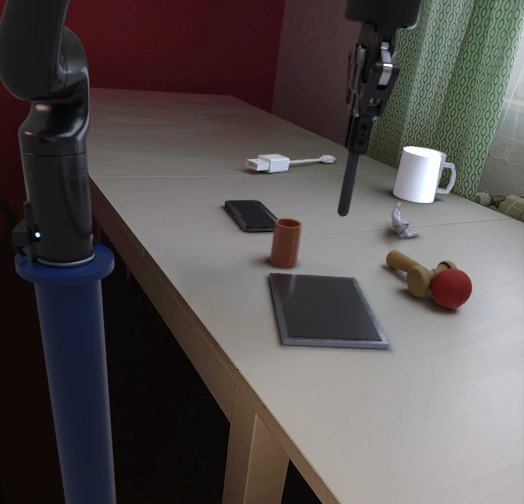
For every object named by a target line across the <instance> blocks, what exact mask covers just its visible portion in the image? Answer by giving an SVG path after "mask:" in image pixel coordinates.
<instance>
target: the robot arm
mask: <svg viewBox="0 0 524 504" xmlns="http://www.w3.org/2000/svg"><path fill="white" fill-rule="evenodd" d="M71 2H72V0H5V4H4V7H3V11H2V14H1V18H0V81H1V82H2V85H3V87H4V88H5V89H6V90H7V91H8V92H9V93H10V94H11V95H12V96H14V97H15V98H16V99H18V100H20V101H21V100H22V101H25V102H31V106H30V110H29V112H28V115H27V117H26V119H25V120H24V121H23V122H22V123H21V125H20V126H19V127H18V131H17V132H18V133H17V134H18V135H17V136H18V144H19V151H20V159H21V164H22V171H23V178H24V185H25V193H26V200H25V202H24V203H23V212H24V219H21V220H20V221H19V223H18V224H17V225H16V226H15V227H14V228H13V230H12V231H11V235H12V237H11V240H10V241H11V242H10V243H11V247H12V248H13V250H14V252H16V254H17V253H18V254H19V255H20V256H21V257H22V258H24V257H25V256H27V254H26V253H25V252H24V251H23V250H22V249H23V248H25V247H29V248H30V255H31V262H32V263H39V264H41V265H44V266H47V267H52V268H74V267H79V266H83V265H86V264H88V263H90V262H92V261H93V260H94V258H95V250H94V245H95V247H96V248H97V246H96V243H97V239H96V237H95V236H94V229H93V216H92V215H93V213H92V202H91V188H90V177H89V165H88V163H89V161H88V150H87V139H88V134H89V131H90V127H91V94H90V93H91V91H90V90H91V89H90V74H89V73H90V70H89V63H88V57H87V55H86V51H85V49H84V46H83V43H81V40H80V38H79V37H78V35H76V33H75V32H73V31H72V30H71V29H70V28H69V27H67V26H66V20H67V14H68V11H69V8H70V4H71ZM422 6H423V0H345V6H344V13H343V16H344V18H345V20H346V21H348V22H354V23H360V24H361V28H360V31H359V34H358V38H357V42H353V44H352V47H351V50H350V51H349V53H348V56H347V74H346V76H347V77H346V93H345V104H346V105H347V113H348V119H347V124H346V129H345V135H344V141H343V147H344V148H345V149H346V150H347V152H348V154H349V153H351V154H358V155H360V156H364V155H366V154H367V153H368V151H369V150H368V149H369V145H370V141H371V135H372V129H373V125H374V121H376V120H377V119H378V118H382V116H383V115H384V112H385V109H386V106H387V105H388V102H389V99H390V97H391V95H392V92H393V90H394V87H395V85H396V83H397V80H398V77H399V75H400V72H401V65H400V64H398V63H397V64H396V61H397V57H398V49H397V48H396V47H397V38H398V30H399V29H405V30H406V29H407V30H412V29H415V27H417V25H418V22H419V18H420V14H421V9H422ZM21 247H23V248H21Z"/></svg>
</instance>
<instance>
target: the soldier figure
mask: <svg viewBox="0 0 524 504" xmlns="http://www.w3.org/2000/svg"><path fill="white" fill-rule="evenodd" d="M401 204H402V203H401V202H397V203H395V206H394V207H393V209H392V212H391V215H390V217H391V220H392V221H391V223H390V226H391V228H392V229H393V231H394V232H395V233H398V236H399V237H400V236H402V237H404V238H405V239H409V238H413V237H417V236H419V235H420V231H418V230H417V231H415V232H412V233H409V231H408V227H409V226H410V222H408V218H407V217H403V218H401V210H402V208H400V207H401V206H400V205H401Z"/></svg>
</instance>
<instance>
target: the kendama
mask: <svg viewBox="0 0 524 504" xmlns="http://www.w3.org/2000/svg"><path fill="white" fill-rule="evenodd" d="M385 264H386V265H387V266H388V267H390V268H393V269H396V270H399V271H402V272H404V273H406V277H405V279H406V280H405V281H406V285H407V288H408V290H409V292H410V293H411V295H413V296H414V297H416V298H421V297H424V296H427V295H428V294H429V292H430V295H431V297H432V299H433V300H434V302H435V303H436V304H437V305H439V306H441V307H443V308H447V309H458V308H460V307H462V306H463V305H464V304H466V302H468V300H469V299H470V297H471V295H472V293H473V282H472V280H471V278H470V276H469V275H468V274H467V273H466V272H464V271H463V270H461V269H459V268H458V267H457V266H456V264H455V263H454V262H453V261H451V260H442V261H440V262H439V263H438V264H437V266H436V268H432V269H430V270H429V269H428V268H427V267H425V266H424V265H422V264H421V263H419V262H417V261H416V260H415V259H412V258H411V257H409V256H407V255H406V254H404V253H402V252H401V251H399V250H398V249H392V250H390V251H389V252H388V253H387V255H386V257H385Z"/></svg>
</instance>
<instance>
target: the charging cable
mask: <svg viewBox="0 0 524 504" xmlns="http://www.w3.org/2000/svg"><path fill="white" fill-rule="evenodd" d="M336 160H337V158H335V156H332V155H330V154H323V155H321V156H320V157H319V158H308V159H295V160H290V158H289V157H287V156H284V155H281V154H279V153H273V154H259V155H257V157H256V158H251V159H246V160H245V167H247V168H248V169H251V170H255V171H263V172H265V173H268V174H271V173H283V172H288V171H289V166H290V164H298V163H312V162H321V163H323V164H324V163H325V164H334V161H336Z"/></svg>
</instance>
